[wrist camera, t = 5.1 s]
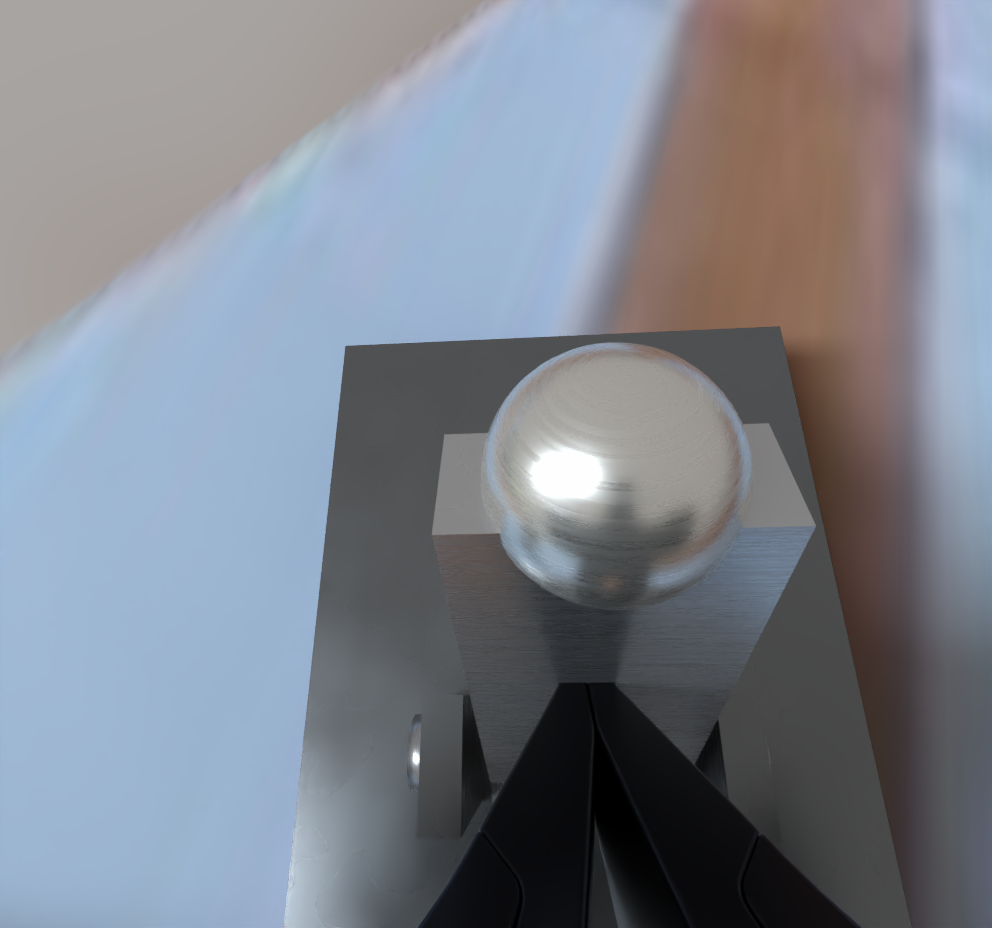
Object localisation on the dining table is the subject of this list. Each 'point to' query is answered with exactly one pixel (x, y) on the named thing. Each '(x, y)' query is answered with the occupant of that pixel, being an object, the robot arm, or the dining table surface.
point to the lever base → (441, 680)
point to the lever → (612, 544)
